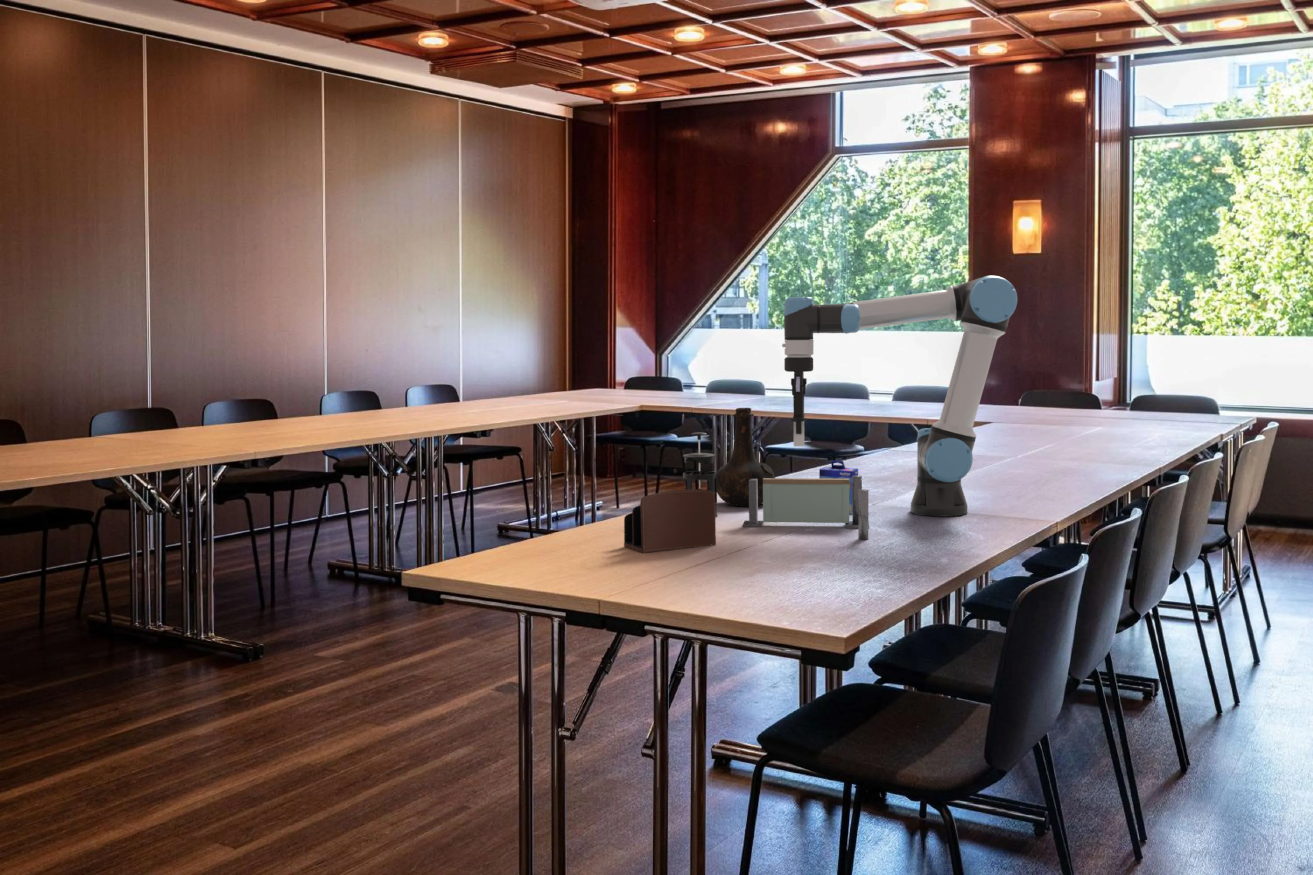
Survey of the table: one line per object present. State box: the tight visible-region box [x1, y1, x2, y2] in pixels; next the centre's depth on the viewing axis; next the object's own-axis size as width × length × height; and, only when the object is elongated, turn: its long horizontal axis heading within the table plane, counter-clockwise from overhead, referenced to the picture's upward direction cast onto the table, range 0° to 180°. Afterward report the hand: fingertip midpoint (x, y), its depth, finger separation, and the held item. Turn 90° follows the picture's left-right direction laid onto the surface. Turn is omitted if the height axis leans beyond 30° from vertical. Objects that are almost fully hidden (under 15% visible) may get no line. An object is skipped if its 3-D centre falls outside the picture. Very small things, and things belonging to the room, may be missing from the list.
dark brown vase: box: [716, 407, 776, 507], centre depth 357 cm, size 18×18×28 cm
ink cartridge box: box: [818, 460, 859, 515], centre depth 340 cm, size 10×6×14 cm, turn 64°
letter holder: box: [623, 488, 717, 554], centre depth 294 cm, size 10×20×14 cm, turn 118°
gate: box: [762, 477, 850, 524], centre depth 319 cm, size 22×2×11 cm, turn 81°
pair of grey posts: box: [742, 475, 870, 541], centre depth 311 cm, size 32×22×13 cm
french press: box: [682, 431, 718, 518], centre depth 337 cm, size 12×9×23 cm
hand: (798, 445), depth 326 cm, fingers closed
